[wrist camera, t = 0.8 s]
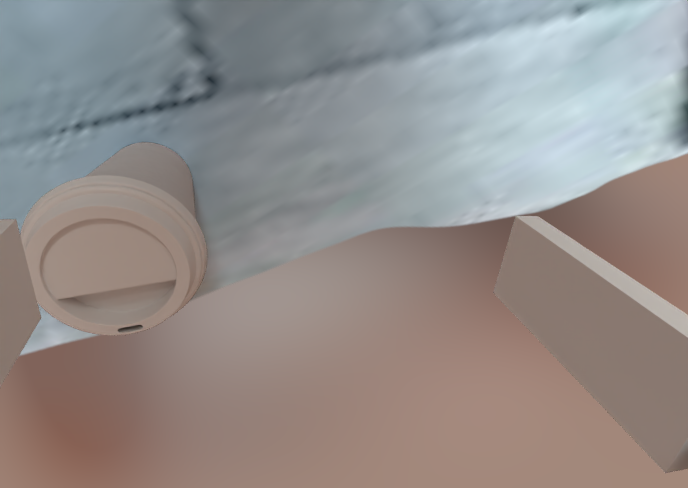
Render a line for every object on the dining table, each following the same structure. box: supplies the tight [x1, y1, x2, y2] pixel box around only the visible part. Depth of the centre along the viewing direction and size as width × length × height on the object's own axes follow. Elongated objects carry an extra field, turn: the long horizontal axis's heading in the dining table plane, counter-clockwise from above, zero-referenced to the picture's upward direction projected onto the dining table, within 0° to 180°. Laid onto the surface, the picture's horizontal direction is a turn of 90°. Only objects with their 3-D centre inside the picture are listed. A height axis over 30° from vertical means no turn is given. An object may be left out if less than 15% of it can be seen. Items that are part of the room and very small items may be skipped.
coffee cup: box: [20, 142, 207, 335], centre depth 30 cm, size 10×10×15 cm
